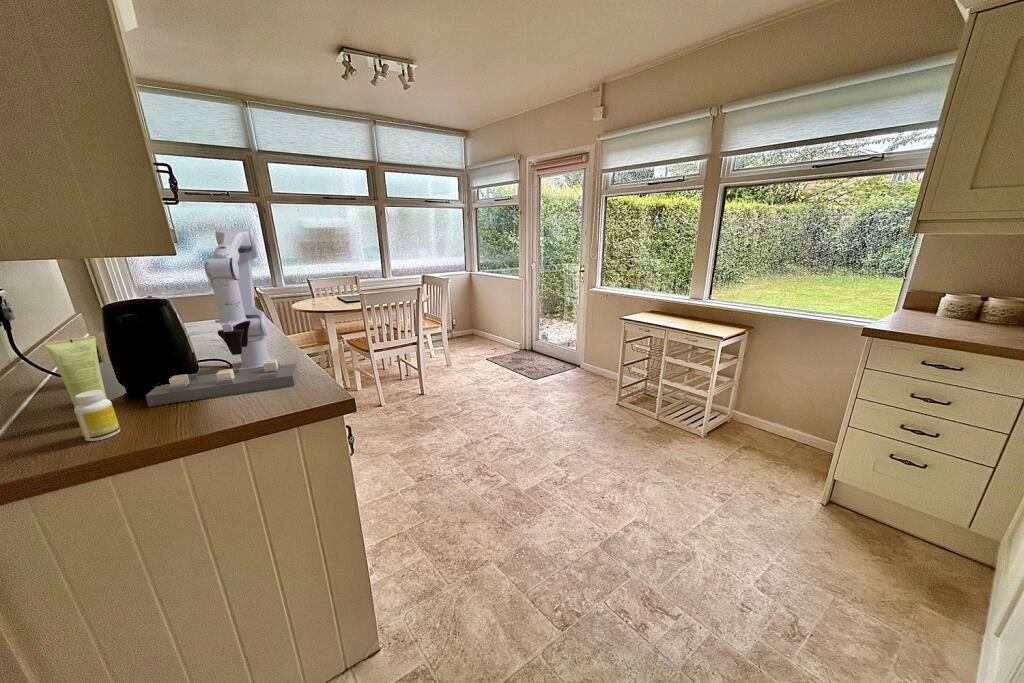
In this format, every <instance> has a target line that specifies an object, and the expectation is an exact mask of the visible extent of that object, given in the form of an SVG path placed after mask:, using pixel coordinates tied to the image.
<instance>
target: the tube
mask: <svg viewBox="0 0 1024 683" xmlns="http://www.w3.org/2000/svg"><path fill="white" fill-rule="evenodd" d="M43 345H44V348H45V349H46V351H47V352H48V354H49V356H50V357H51V359H52V361H53V363H54V365H55V367H56V369H57V370H58V374H60V377H61V379H62V381H63V383H64V386H65V388H66V390H67V392H68V394H69V397H70V399H71V402H72V405H73V407H74V408H75V407H76V406H78V405H79V403H77V402H76V399H75V396H76V395H78V394H80V393H83V392H87V391H92V390H102V391H103V393H104V399H107V397H106V393H105V389H104V385H103V381H102V376H101V372H100V367H99V361H98V356H97V349H96V345H97V340H96V336H95V335H92V336H91V335H90V336H86V337H83V336H82V337H78V338H77V337H76V338H71V339H70V338H69V339H63V340H62V339H61V340H55V341H47V342H43Z"/></svg>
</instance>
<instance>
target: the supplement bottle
mask: <svg viewBox="0 0 1024 683" xmlns="http://www.w3.org/2000/svg"><path fill="white" fill-rule="evenodd" d="M75 399H76V402H77V403H79V405H78V406H76V407H74V409H73V411H74V413H75V414H74V415H75V416H76V419H77V422H78V426H79V428H80V430H81V433H82V436H83V438H84V440H85V441H86V442H96V441H102V440H105V439H108V438H111V437H113V436H116V435H117V434H119V432H121V427H120V423H119V420H118V418H117V414H116V412H115V409H114V406H113V403H112V401H110V400H108V399H104V393H103V391H102V390H92V391H87V392H83V393H80V394H78V395H76V396H75Z"/></svg>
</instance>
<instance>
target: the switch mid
mask: <svg viewBox="0 0 1024 683" xmlns="http://www.w3.org/2000/svg"><path fill="white" fill-rule="evenodd" d="M233 369H234V368H226V369H219V370H218V371H217V373H215V374H216V375H217V379H218V380H224V379H234V377H235V376H234V372H233Z"/></svg>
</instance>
